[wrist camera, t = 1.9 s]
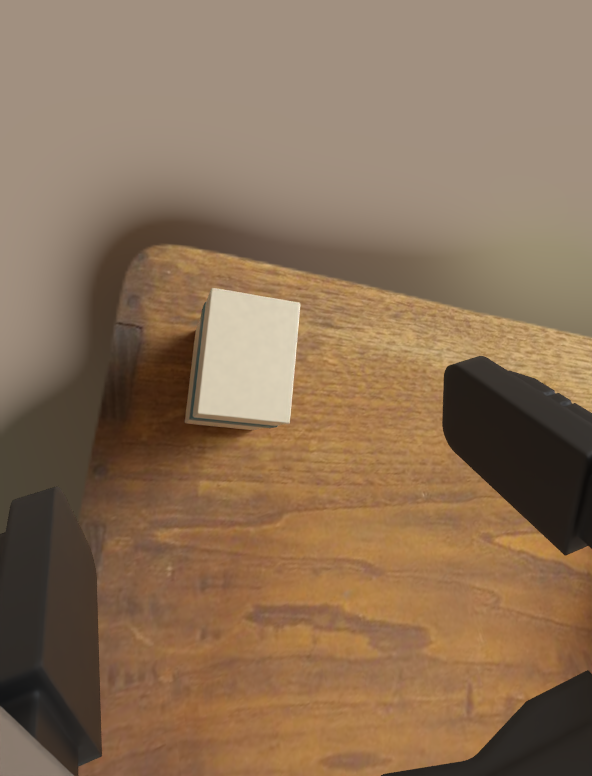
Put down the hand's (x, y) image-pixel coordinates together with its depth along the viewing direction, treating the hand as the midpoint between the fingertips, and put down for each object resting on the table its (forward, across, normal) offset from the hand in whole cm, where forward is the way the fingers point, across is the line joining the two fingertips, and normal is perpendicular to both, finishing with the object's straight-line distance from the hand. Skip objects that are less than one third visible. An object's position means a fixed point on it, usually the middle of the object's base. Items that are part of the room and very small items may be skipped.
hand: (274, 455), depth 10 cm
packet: (+21, -2, +10) cm, 23 cm away
